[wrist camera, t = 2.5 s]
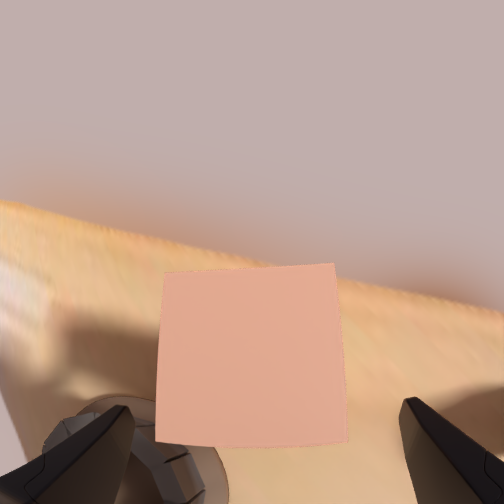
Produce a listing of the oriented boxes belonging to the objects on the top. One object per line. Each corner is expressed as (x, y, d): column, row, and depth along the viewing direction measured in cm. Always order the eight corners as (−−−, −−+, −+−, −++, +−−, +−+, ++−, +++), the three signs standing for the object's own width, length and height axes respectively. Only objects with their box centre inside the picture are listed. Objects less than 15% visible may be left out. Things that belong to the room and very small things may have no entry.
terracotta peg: (309, 417, 17) (348, 442, 5) (242, 419, 17) (155, 441, 6) (307, 354, 19) (333, 262, 7) (242, 356, 19) (164, 272, 8)
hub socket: (158, 577, 11) (132, 603, 7) (45, 464, 16) (5, 465, 12) (269, 481, 15) (263, 502, 11) (128, 361, 19) (93, 348, 15)
